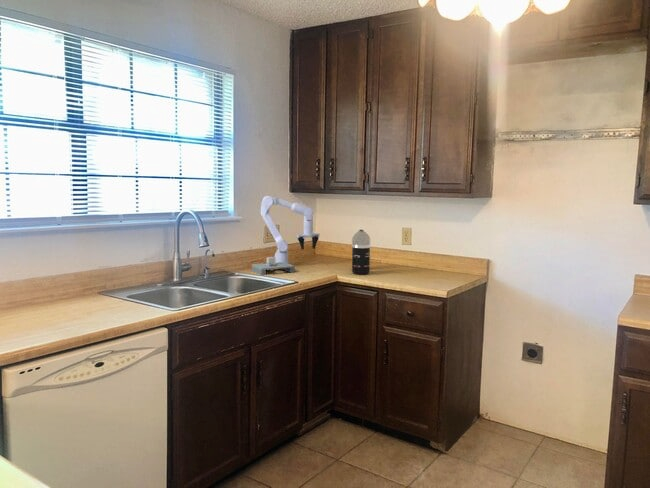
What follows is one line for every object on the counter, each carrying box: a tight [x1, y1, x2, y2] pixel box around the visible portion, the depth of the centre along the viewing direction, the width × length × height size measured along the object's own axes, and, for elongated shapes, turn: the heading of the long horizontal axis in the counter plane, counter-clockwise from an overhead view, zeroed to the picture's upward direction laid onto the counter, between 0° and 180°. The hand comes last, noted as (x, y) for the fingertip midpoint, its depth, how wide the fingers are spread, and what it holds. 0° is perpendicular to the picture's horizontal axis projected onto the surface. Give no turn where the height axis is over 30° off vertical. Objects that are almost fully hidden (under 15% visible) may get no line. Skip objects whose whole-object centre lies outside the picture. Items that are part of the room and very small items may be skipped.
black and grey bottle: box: [351, 229, 371, 276], centre depth 296 cm, size 10×10×25 cm
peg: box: [265, 256, 275, 271], centre depth 306 cm, size 4×4×7 cm
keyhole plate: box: [251, 262, 296, 276], centre depth 303 cm, size 16×20×4 cm
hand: (308, 249), depth 323 cm, fingers open, 7 cm apart
